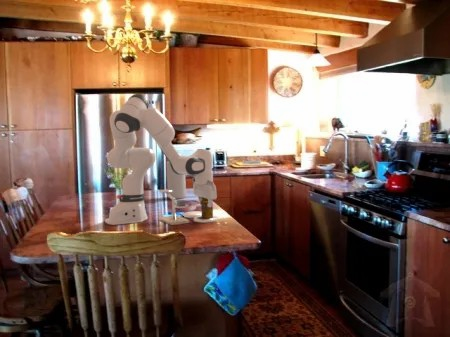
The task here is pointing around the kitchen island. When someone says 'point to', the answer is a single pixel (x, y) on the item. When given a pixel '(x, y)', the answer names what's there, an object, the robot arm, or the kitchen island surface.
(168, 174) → the cylinder vase
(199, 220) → the near dish
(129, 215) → the robot arm
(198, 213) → the far dish
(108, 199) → the kitchen island surface
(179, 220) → the balance
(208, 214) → the condiment
